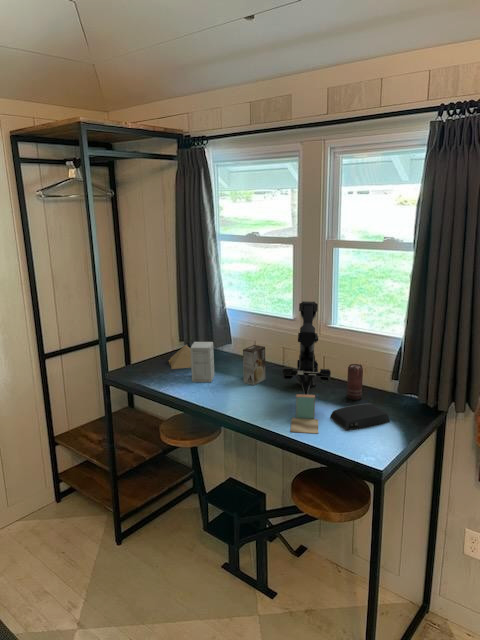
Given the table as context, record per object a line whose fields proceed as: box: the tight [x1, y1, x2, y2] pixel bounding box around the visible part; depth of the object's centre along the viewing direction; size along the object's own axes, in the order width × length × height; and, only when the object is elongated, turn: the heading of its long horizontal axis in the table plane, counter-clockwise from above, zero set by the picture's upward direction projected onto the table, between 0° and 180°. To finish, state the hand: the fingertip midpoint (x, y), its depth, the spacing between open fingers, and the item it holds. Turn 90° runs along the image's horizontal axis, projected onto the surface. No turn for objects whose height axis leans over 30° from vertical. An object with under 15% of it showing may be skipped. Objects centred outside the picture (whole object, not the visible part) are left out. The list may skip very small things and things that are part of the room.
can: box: [346, 363, 364, 401], centre depth 206 cm, size 6×6×14 cm
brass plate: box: [290, 417, 319, 434], centre depth 184 cm, size 11×10×1 cm
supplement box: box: [189, 341, 215, 383], centre depth 229 cm, size 10×9×17 cm
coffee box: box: [242, 344, 266, 386], centre depth 225 cm, size 9×6×16 cm
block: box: [295, 393, 316, 419], centre depth 189 cm, size 2×7×9 cm, turn 82°
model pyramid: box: [168, 344, 191, 370], centre depth 252 cm, size 17×17×10 cm
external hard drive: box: [329, 403, 391, 432], centre depth 188 cm, size 13×19×4 cm
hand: (305, 394), depth 192 cm, fingers closed
